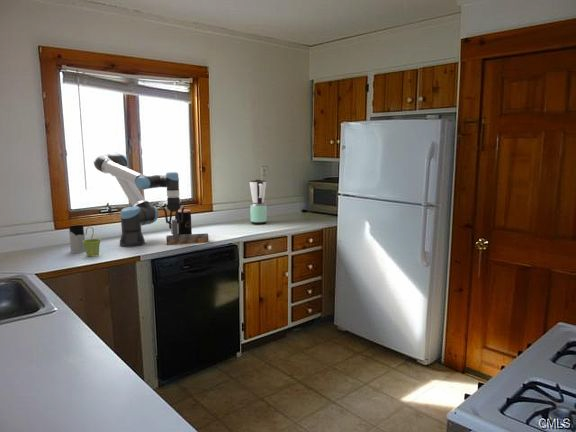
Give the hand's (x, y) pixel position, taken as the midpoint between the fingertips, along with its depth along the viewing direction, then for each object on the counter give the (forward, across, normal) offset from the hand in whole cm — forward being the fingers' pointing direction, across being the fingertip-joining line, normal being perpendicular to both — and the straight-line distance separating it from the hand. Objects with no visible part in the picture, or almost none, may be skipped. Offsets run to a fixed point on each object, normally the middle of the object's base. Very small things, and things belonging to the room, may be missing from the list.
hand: (175, 233), depth 279 cm
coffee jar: (+6, +6, +20) cm, 22 cm away
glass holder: (+6, -53, -7) cm, 54 cm away
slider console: (+6, +8, 0) cm, 10 cm away
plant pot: (+6, -45, -22) cm, 51 cm away
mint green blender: (+6, +64, +57) cm, 86 cm away
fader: (+3, 0, 0) cm, 3 cm away
